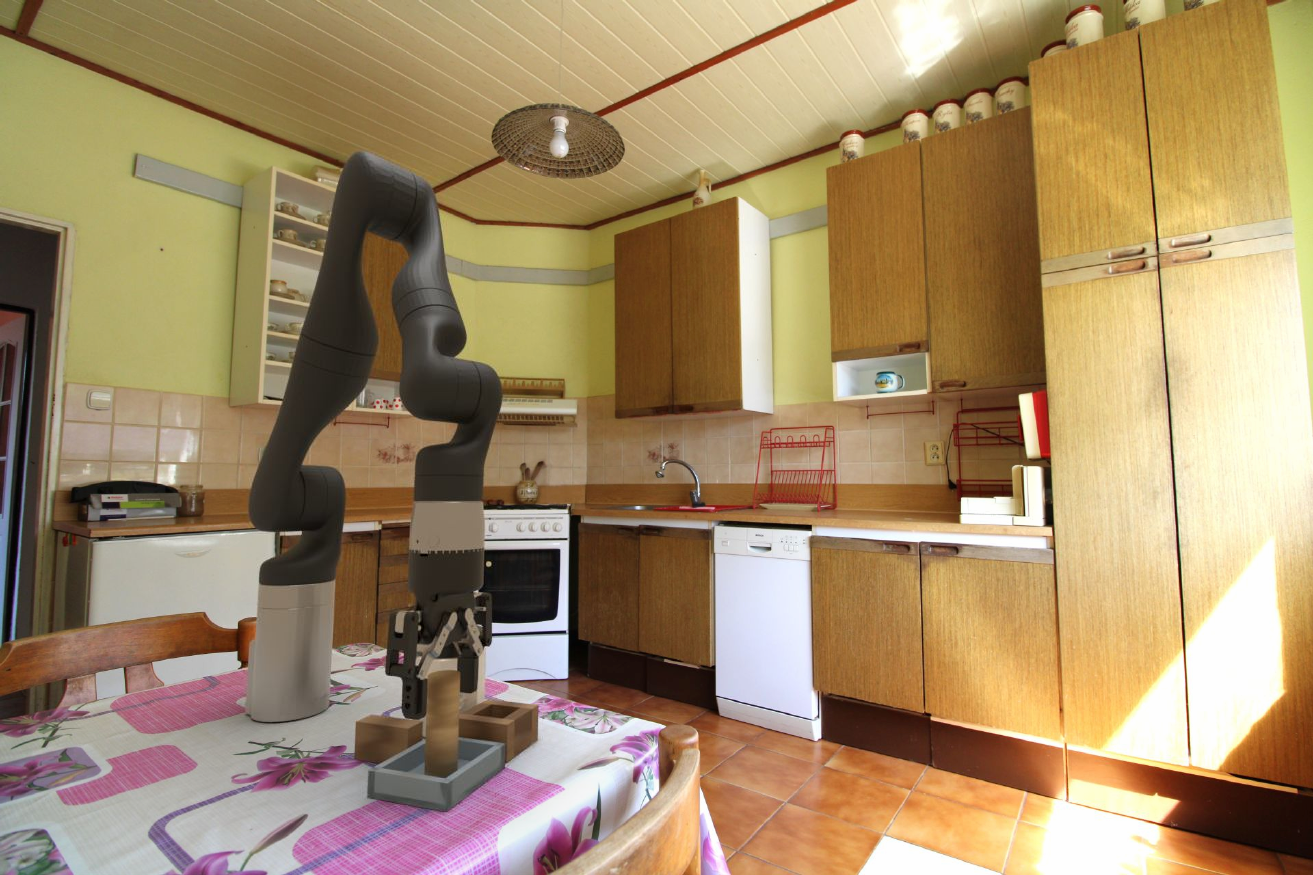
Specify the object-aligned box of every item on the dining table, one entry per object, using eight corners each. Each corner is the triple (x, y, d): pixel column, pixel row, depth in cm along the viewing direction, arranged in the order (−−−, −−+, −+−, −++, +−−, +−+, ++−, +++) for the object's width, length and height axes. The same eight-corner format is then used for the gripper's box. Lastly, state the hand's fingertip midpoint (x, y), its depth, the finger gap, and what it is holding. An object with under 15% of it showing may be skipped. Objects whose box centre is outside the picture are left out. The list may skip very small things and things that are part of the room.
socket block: (451, 754, 71) (453, 717, 71) (486, 732, 78) (487, 699, 78) (506, 762, 69) (507, 724, 69) (537, 739, 75) (538, 704, 76)
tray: (367, 797, 61) (368, 770, 61) (433, 756, 70) (434, 733, 70) (446, 811, 58) (447, 783, 58) (504, 767, 67) (505, 743, 68)
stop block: (354, 758, 70) (355, 721, 70) (370, 750, 72) (371, 714, 72) (406, 767, 68) (408, 728, 68) (421, 758, 70) (422, 721, 70)
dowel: (417, 779, 63) (420, 676, 64) (437, 766, 66) (440, 668, 67) (444, 784, 62) (447, 679, 63) (463, 771, 65) (466, 671, 66)
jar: (419, 746, 73) (423, 640, 74) (404, 725, 80) (408, 628, 81) (494, 730, 78) (497, 631, 79) (474, 712, 85) (476, 621, 86)
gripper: (458, 539, 74) (453, 682, 73) (368, 548, 61) (360, 723, 59) (514, 541, 72) (510, 688, 70) (434, 551, 59) (427, 733, 57)
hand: (442, 704), depth 65 cm, fingers open, 8 cm apart
